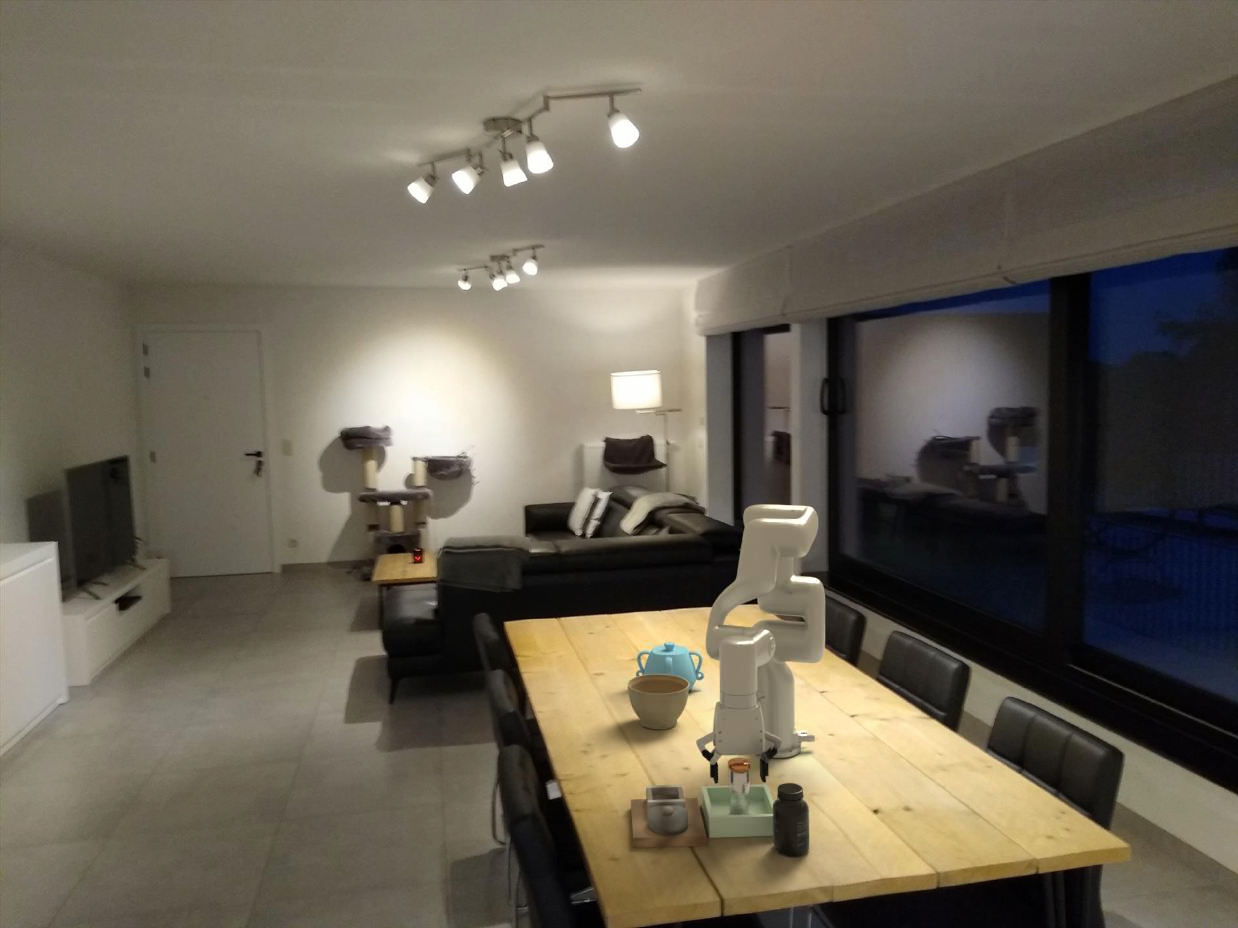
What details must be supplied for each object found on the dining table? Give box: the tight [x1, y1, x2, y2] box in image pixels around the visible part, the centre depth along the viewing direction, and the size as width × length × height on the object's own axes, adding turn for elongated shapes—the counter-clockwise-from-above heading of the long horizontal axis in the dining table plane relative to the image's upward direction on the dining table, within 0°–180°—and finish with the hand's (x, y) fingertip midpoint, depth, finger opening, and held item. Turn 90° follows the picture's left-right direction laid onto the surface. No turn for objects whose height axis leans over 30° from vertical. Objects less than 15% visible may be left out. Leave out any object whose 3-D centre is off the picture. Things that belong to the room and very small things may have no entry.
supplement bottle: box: [772, 782, 810, 858], centre depth 171 cm, size 7×7×12 cm
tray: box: [700, 783, 775, 839], centre depth 183 cm, size 14×14×4 cm
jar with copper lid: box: [727, 757, 752, 815], centre depth 182 cm, size 5×5×11 cm
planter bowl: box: [627, 674, 690, 730], centre depth 235 cm, size 16×16×11 cm
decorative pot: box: [635, 641, 705, 691], centre depth 262 cm, size 16×16×14 cm
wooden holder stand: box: [630, 784, 707, 849], centre depth 180 cm, size 14×16×6 cm
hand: (739, 779), depth 182 cm, fingers open, 9 cm apart
